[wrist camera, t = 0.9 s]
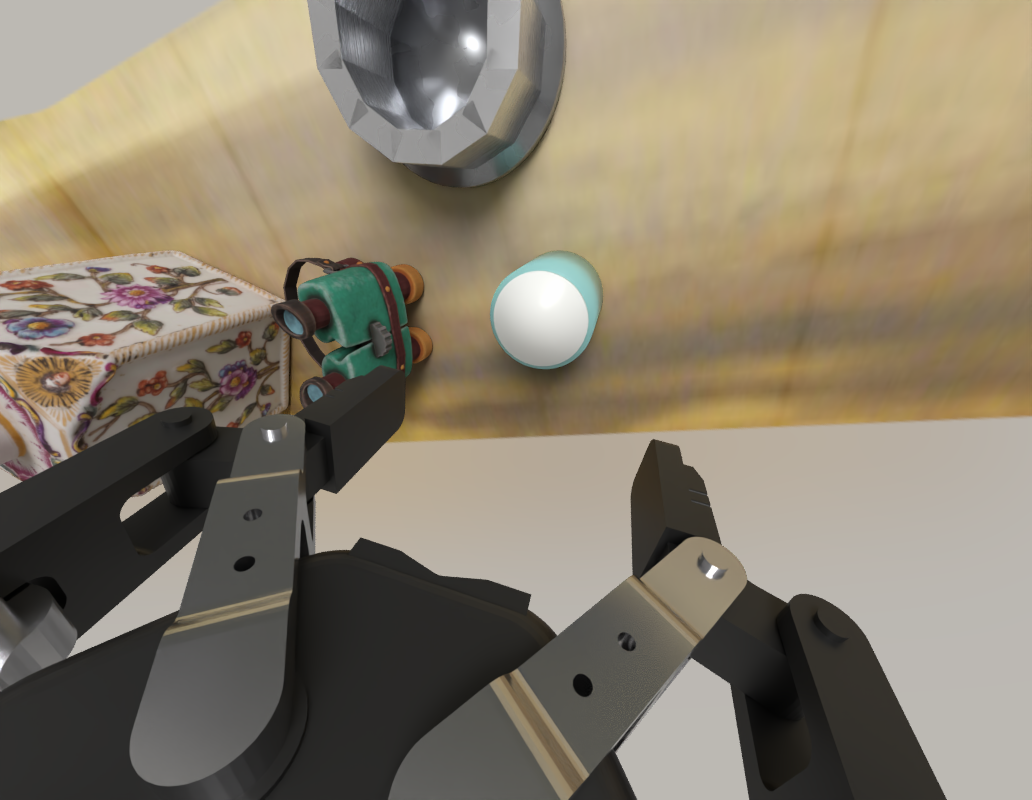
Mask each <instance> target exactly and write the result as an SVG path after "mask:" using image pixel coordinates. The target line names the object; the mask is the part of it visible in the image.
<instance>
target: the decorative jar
mask: <svg viewBox="0 0 1032 800" xmlns="http://www.w3.org/2000/svg"><path fill="white" fill-rule="evenodd" d="M281 302H285V300H284V299H282V298H279V297H277V296H275V295H273V294H271V293H269V292H267V291H265V290H263V289H261V288H259V287H257V286H254V285H252V284H250V283H248V282H246V281H244V280H241V279H239V278H237V277H235V276H233V275H230V274H228V273H226V272H224V271H221V270H219V269H217V268H214V267H212V266H210V265H207V264H205V263H203V262H201V261H199V260H197V259H195V258H193V257H190V256H188V255H186V254H184V253H182V252H179V251H158V252H148V253H139V254H130V255H123V256H115V257H107V258H100V259H93V260H86V261H79V262H72V263H62V264H53V265H45V266H40V267H32V268H24V269H15V270H10V271H2V272H0V468H1V469H2V470H4V471H6V472H7V473H9V474H11V475H12V476H14V477H16V478H17V479H19V480H21V481H25V480H27V479H29V478H31V477H33V476H35V475H37V474H39V473H40V472H42V471H44V470H46V469H48V468H50V467H52V466H54V465H56V464H58V463H60V462H62V461H64V460H66V459H68V458H70V457H72V456H74V455H76V454H78V453H80V452H82V451H84V450H86V449H87V448H89V447H91V446H93V445H95V444H97V443H99V442H101V441H103V440H105V439H107V438H109V437H111V436H113V435H115V434H117V433H119V432H121V431H123V430H125V429H127V428H129V427H131V426H133V425H134V424H136V423H138V422H140V421H142V420H144V419H146V418H148V417H150V416H152V415H154V414H156V413H159V412H162V411H165V410H168V409H173V408H179V407H200V408H204V409H207V410H209V411H210V412H211V413H212V414H213V417H214V421H215V424H216V426H219V427H234V428H244V427H245V426H246V425H247V424H248V423H250V422H251V421H253V420H255V419H258V418H260V417H264V416H268V415H274V414H279V413H280V412H282V411H283V410H285V409H286V408H287V407H288V402H289V352H290V335H288V334H287V333H285V332H284V331H283V330H282V329H281V328H280V327H279V326H278V325H277V323H276V322H275V320H274V319H273V317H272V314H271V307H272V305H274V304H277V303H281ZM161 484H163V483H162V480H161V478H158V479H157V480H155V481H154V482H152V483H151V484H149V485H148V486H146V487H145V488H143V489H142V490H140V491H139V492H137V493H136V494H134V495H133V496H131V497H136V496H142V495H144V494H146V493H147V492H149V491H150V490H151V489H154V488H155V487H157V486H159V485H161Z"/></svg>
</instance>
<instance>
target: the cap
mask: <svg viewBox="0 0 1032 800" xmlns="http://www.w3.org/2000/svg"><path fill="white" fill-rule="evenodd" d="M602 303H603V288H602V283H601V280H600V278H599V275H598V273H597V272H596V270H595V269H594V267H593V266H592V265H591V264H590V263H589V262H588V261H587V260H586V259H584V258H583V257H581V256H579V255H577V254H575V253H572V252H568V251H551V252H547V253H544V254H542V255H540V256H538V257H536V258H535V259H533V260H532V261H530V262H528V263H527V264H525V265H524V266H522V267H520V268H519V269H517V270H516V271H514V272H512V273H511V274H510V275H508V276H507V277H506V278H505V279H504V280H503V281H502V282H501V284H500V285H499V287H498V288H497V290H496V292H495V294H494V297H493V299H492V303H491V310H490V319H491V326H492V329H493V333H494V335H495V337H496V339H497V341H498V343H499V344H500V346H501V347H502V348H503V350H504V351H505V352H506V353H507V354H508V355H509V356H510V357H512V358H513V359H514V360H516V361H517V362H519V363H521V364H523V365H526V366H528V367H532V368H537V369H553V368H558V367H561V366H564V365H566V364H568V363H570V362H572V361H573V360H574V359H576V358H577V357H578V356H579V355H580V354H581V353H582V352H583V351H584V349H585V348H586V347H587V345H588V343H589V341H590V339H591V336H592V334H593V331H594V328H595V325H596V322H597V319H598V316H599V313H600V310H601V307H602Z"/></svg>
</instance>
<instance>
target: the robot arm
mask: <svg viewBox="0 0 1032 800" xmlns="http://www.w3.org/2000/svg"><path fill="white" fill-rule="evenodd" d="M405 382H406V378H405V373H404V372H403V371H401V370H398V369H394V368H390V367H386V366H383V365H380V366H378V367H376V368H375V369H373V370H372V371H371V372H369V373H368V374H366V375H365V376H363V375H361V376H358V377H354V378H351V379H348V380H346V381H344V382H343V383H341V384H340V385H338V386H337V387H335V389H332V390H331V391H329V392H328V393H326V395H325V396H322V397H320V398H319V399H317V400H316V401H314V402H313V403H311V404H310V405H308V406H307V407H305V408H304V409H303V410H301V411H300V412H298V413H297V414H295V415H294V416H293V415H288V414H274V415H268V416H264V417H260V418H258V419H255V420H253V421H251V422H250V423H248V424H247V425H246V426H245V427H244V428H234V427H219V426H216V424H215V421H214V417H213V414H212V413H211V412H210V411H209V410H207V409H204V408H200V407H179V408H173V409H168V410H165V411H162V412H159V413H156V414H154V415H152V416H150V417H148V418H146V419H144V420H142V421H140V422H138V423H136V424H134V425H133V426H131V427H129V428H127V429H125V430H123V431H121V432H119V433H117V434H115V435H113V436H111V437H109V438H107V439H105V440H103V441H101V442H99V443H97V444H95V445H93V446H91V447H89V448H87V449H86V450H84V451H82V452H80V453H78V454H76V455H74V456H72V457H70V458H68V459H66V460H64V461H62V462H60V463H58V464H56V465H54V466H52V467H50V468H48V469H46V470H44V471H42V472H40V473H39V474H37V475H35V476H33V477H31V478H29V479H27V480H25V481H23V482H21V483H19V484H17V485H15V486H13V487H11V488H9V489H7V490H5V491H3V492H1V493H0V800H637V798H636V796H635V794H634V792H633V790H632V788H631V785H630V783H629V781H628V779H627V777H626V775H625V772H624V770H623V768H622V766H621V764H620V762H619V759H618V757H617V755H616V752H617V751H618V749H619V748H620V747H621V746H622V744H623V743H624V742H625V741H626V739H627V738H628V737H629V736H630V734H631V733H632V732H633V730H634V729H635V728H636V727H637V725H638V724H639V723H640V722H641V720H642V719H643V718H644V716H645V715H646V714H647V713H648V711H649V710H650V709H651V708H652V706H653V705H654V704H655V703H656V701H657V700H658V699H659V698H660V696H661V695H662V694H663V693H664V691H665V690H666V689H667V688H668V686H669V685H670V684H671V683H672V681H673V680H674V679H675V678H676V676H677V675H678V674H679V673H680V671H681V670H682V669H683V668H684V667H685V665H686V664H687V663H688V661H689V660H690V659H691V658H693V659H694V660H696V661H697V662H699V663H700V664H702V665H703V666H704V667H706V668H708V669H709V670H710V671H712V672H713V673H715V674H716V675H718V676H720V677H721V678H722V679H724V680H726V681H727V682H729V683H730V685H731V690H732V697H733V703H734V709H735V715H736V721H737V728H738V734H739V740H740V746H741V751H742V757H743V764H744V770H745V776H746V782H747V788H748V794H749V800H947V799H946V797H945V795H944V793H943V791H942V789H941V787H940V785H939V783H938V782H937V779H936V777H935V775H934V773H933V771H932V769H931V767H930V765H929V763H928V761H927V759H926V757H925V755H924V753H923V750H922V749H921V746H920V745H919V743H918V740H917V738H916V737H915V734H914V732H913V730H912V728H911V726H910V725H909V722H908V720H907V718H906V716H905V714H904V712H903V710H902V708H901V706H900V704H899V702H898V700H897V698H896V696H895V694H894V692H893V690H892V688H891V686H890V684H889V682H888V680H887V678H886V675H885V673H884V672H883V669H882V667H881V665H880V663H879V661H878V659H877V657H876V655H875V653H874V651H873V649H872V647H871V645H870V643H869V641H868V639H867V638H866V636H865V634H864V633H863V632H862V630H861V629H860V628H859V627H858V625H857V624H856V623H855V622H854V621H853V620H852V619H851V618H850V617H849V616H848V615H846V614H845V613H844V612H843V611H841V610H840V609H839V608H837V607H836V606H834V605H833V604H831V603H830V602H827V601H826V600H824V599H822V598H819V597H816V596H813V595H809V594H799V595H796V596H794V597H793V598H792V599H791V600H790V601H789V603H786V602H784V601H782V600H781V599H779V598H777V597H775V596H773V595H772V594H770V593H768V592H766V591H764V590H763V589H761V588H759V587H757V586H756V585H754V584H752V583H751V582H750V581H748V580H747V575H746V572H745V569H744V567H743V566H742V564H741V563H740V561H739V560H738V559H737V557H735V555H734V554H733V553H731V552H730V551H729V550H728V549H727V548H725V547H724V546H722V544H721V541H720V537H719V534H718V530H717V527H716V523H715V519H714V516H713V512H712V509H711V507H710V502H709V498H708V496H707V491H706V487H705V484H704V480H703V479H702V478H701V477H700V475H699V474H698V473H697V472H696V470H695V469H694V468H693V467H691V466H687V465H684V464H683V461H682V456H681V452H680V448H679V446H677V445H673V444H669V443H666V442H662V441H659V440H655V439H653V440H651V442H650V444H649V446H648V448H647V450H646V453H645V455H644V458H643V460H642V462H641V465H640V467H639V469H638V472H637V474H636V477H635V479H634V482H633V486H632V492H631V527H632V567H633V575H632V576H630V577H629V578H627V579H626V580H625V581H623V582H622V583H621V584H620V585H619V586H617V587H616V588H615V589H614V590H612V591H611V592H610V593H609V594H608V595H606V596H605V597H604V598H603V599H601V600H600V601H599V602H598V603H597V604H595V605H594V606H593V607H592V608H591V609H589V610H588V611H587V612H586V613H584V614H583V615H582V616H581V617H580V618H578V619H577V620H576V621H575V622H573V623H572V624H571V625H570V626H569V627H567V628H566V629H565V630H564V631H563V632H561V633H560V634H559V635H558V636H557V635H556V634H555V632H554V631H553V630H552V629H551V628H550V627H549V626H548V625H547V624H546V623H545V622H544V621H543V620H542V619H540V618H539V617H538V616H536V615H535V614H534V613H533V612H531V611H530V610H528V606H529V602H530V597H531V594H528V593H525V592H522V591H519V590H516V589H513V588H510V587H507V586H504V585H501V584H498V583H495V582H492V581H489V580H482V579H471V578H459V577H448V576H439V575H437V574H435V573H433V572H432V571H430V570H429V569H427V568H426V567H424V566H423V565H421V564H420V563H418V562H417V561H415V560H414V559H412V558H411V557H409V556H407V555H406V554H405V553H403V552H402V551H400V550H396V549H393V548H391V547H388V546H385V545H382V544H379V543H376V542H372V541H370V540H367V539H363V538H360V539H359V540H358V542H357V543H356V544H355V545H354V547H353V548H352V549H351V550H335V551H327V552H321V553H317V554H315V494H316V493H317V492H318V491H319V490H320V489H323V490H326V491H329V492H332V493H335V494H337V493H338V492H339V491H340V490H341V489H342V488H343V487H344V486H345V485H346V483H347V482H348V481H349V480H350V479H351V478H352V477H353V476H354V475H355V474H356V473H357V472H358V471H359V470H360V469H361V468H362V467H363V466H364V465H365V463H367V461H368V460H369V459H370V458H371V457H372V456H373V455H374V454H375V453H376V452H377V451H378V450H379V449H380V448H381V447H382V446H383V445H384V444H385V443H386V442H387V441H388V440H389V438H390V437H391V436H392V435H393V434H394V433H395V432H396V431H397V430H398V429H399V427H400V426H401V424H402V422H403V419H404V414H405ZM158 478H161V480H162V483H163V485H164V488H165V490H166V492H164V493H163V494H162V495H160V496H159V497H157V498H156V499H154V500H153V501H152V502H150V503H149V504H147V505H146V506H144V507H143V508H142V509H140V510H139V511H137V512H136V513H134V514H133V515H132V516H130V517H129V518H127V519H126V520H125V521H123V522H121V520H120V511H121V508H122V507H123V505H124V503H125V502H126V501H127V500H128V499H129V498H130V497H131V496H133V495H134V494H136V493H137V492H139V491H140V490H142V489H143V488H145V487H146V486H148V485H149V484H151V483H152V482H154V481H155V480H157V479H158ZM200 532H202V534H201V538H200V541H199V544H198V548H197V551H196V555H195V558H194V562H193V565H192V568H191V572H190V575H189V579H188V582H187V586H186V589H185V592H184V596H183V599H182V603H181V606H180V610H178V611H176V612H174V613H171V614H169V615H166V616H164V617H162V618H160V619H157V620H155V621H153V622H150V623H148V624H145V625H143V626H141V627H139V628H136V629H134V630H132V631H129V632H127V633H124V634H122V635H120V636H118V637H115V638H113V639H111V640H108V641H106V642H104V643H101V644H99V645H97V646H94V647H92V648H90V649H87V650H85V651H83V652H80V653H78V654H76V655H73V656H71V657H69V658H67V657H68V655H69V654H70V653H71V651H72V649H73V647H74V645H75V643H76V640H77V639H78V638H80V637H81V636H82V635H83V634H84V633H85V632H87V631H88V630H89V629H90V628H91V627H92V626H93V625H94V624H96V623H97V622H98V621H99V620H100V619H102V618H103V617H104V616H105V615H106V614H107V613H108V612H109V611H111V610H112V609H113V608H114V607H115V606H116V605H118V604H119V603H120V602H121V601H122V600H123V599H125V598H126V597H127V596H128V595H129V594H130V593H131V592H132V591H134V590H135V589H136V588H137V587H138V586H139V585H140V584H142V583H143V582H144V581H145V580H146V579H147V578H149V577H150V576H151V575H152V574H153V573H154V572H155V571H157V570H158V569H159V568H160V567H161V566H162V565H164V564H165V563H166V562H167V561H168V560H169V559H171V557H173V556H174V555H175V554H176V553H177V552H179V551H180V550H181V549H182V548H183V547H184V546H185V545H187V544H188V543H189V542H190V541H191V540H192V539H194V538H195V537H196V536H197V535H198V534H199V533H200Z"/></svg>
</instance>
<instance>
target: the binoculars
mask: <svg viewBox="0 0 1032 800" xmlns="http://www.w3.org/2000/svg"><path fill="white" fill-rule="evenodd" d="M306 262H310V263H312V264H315V265H318V266H320V267H322V268H323V269H324V270H323V272H324V273H327V274H328V275H325V276H322V277H319V278H316V279H312V280H309V281H306V282H304V283H303V284H301V285H299V287H298V295H297V287H296V284H297V280H298V277H299V273H300V269H301V267H302V266H303V265H304V264H305V263H306ZM283 288H284V295H285V302H281V303H277V304H274V305H272V307H271V314H272V317H273V319H274V320H275V322H276V323H277V325H278V326H279V327H280V328H281V329H282V330H283V331H284V332H285V333H287V334H288V335H290V336H292V337H293V338H296V339H299V340H301V342H302V344H303V345H304V347H305V349H306V350H307V352H308V353H309V355H310V356H311V357H312V358H313V359H314V360H315V361H316V363H317V364H318V365H319V366H320V367H321V368H322V373H323V377H322V378H320V377H313V378H311V379H309V380H306V381H305V382H304V383H303V384H302V386H301V388H300V401H301V404H302V406H303V408H305V407H307V406H308V405H310V404H311V403H313V402H314V401H316V400H317V399H319V398H320V397H322V396H325V395H326V393H328V392H329V391H331V390H332V389H335V387H337V386H338V385H340V384H341V383H343V382H344V381H346V380H348V379H351V378H354V377H358V376H361V375H363V376H365V375H366V374H368V373H369V372H371V371H372V370H373V369H375V368H376V367H378V366H380V365H383V366H386V367H390V368H394V369H398V370H401V371H403V372H404V373H405V377H407V376H408V375H409V374H410V372H411V369H412V363H418V362H420V361H422V360H424V359H425V358H427V357H428V356H429V355H430V353H431V351H432V341H431V339H430V337H429V335H428V334H427V333H426V332H425V331H423V330H422V329H420V328H416V327H409V328H408V326H405V327H403V328H400V327H401V326H403V325H405V324H406V323H407V314H406V308H405V305H406V304H409V303H412V302H414V301H416V300H418V299H419V298H420V297H421V295H422V293H423V288H424V285H423V280H422V277H421V275H420V274H419V272H418V271H417V270H416V269H414V268H413V267H411V266H409V265H405V264H401V265H397V266H394V267H391V268H390V267H389V266H388V265H387V264H385V263H383V262H369V263H363V262H361V261H360V260H358V259H355V258H347V259H344V260H342V261H339V262H336V263H334V262H333V261H331V260H329V259H320V258H305V259H299V260H295V261H294V262H293V263H292V264H291V265H290V267H289V268H288V270H287V274H286V278H285V282H284V287H283ZM298 298H299V300H298ZM314 334H315V336H316V337H317V338H318V339H319V340H321V341H322V342H324V343H329V342H332V341H335V340H336V341H337V342H338V343H339V344H341V345H342V347H340V348H338V349H336V350H334V351H332V352H331V353H329V354H328V355H326V356H325V355H324V353H323V352H322V351H321V350H320V349H319V347H318V345H317V344H316V342H315V340H314V339H313V337H312V336H313V335H314Z"/></svg>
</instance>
